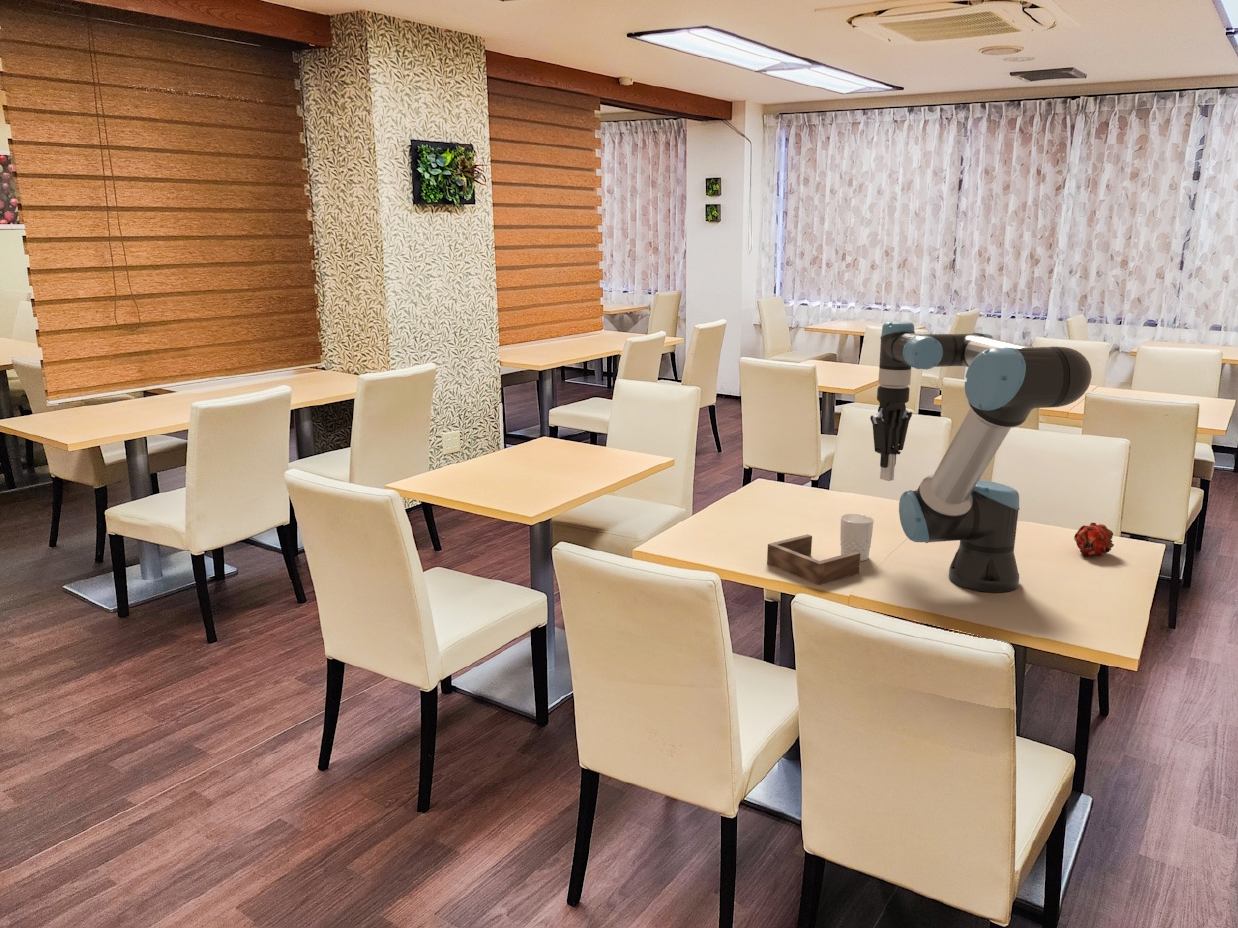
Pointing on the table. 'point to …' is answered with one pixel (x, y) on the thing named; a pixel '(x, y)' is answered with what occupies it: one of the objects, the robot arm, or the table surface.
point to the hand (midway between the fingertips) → (886, 479)
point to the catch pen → (810, 561)
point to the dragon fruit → (1094, 539)
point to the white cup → (856, 534)
